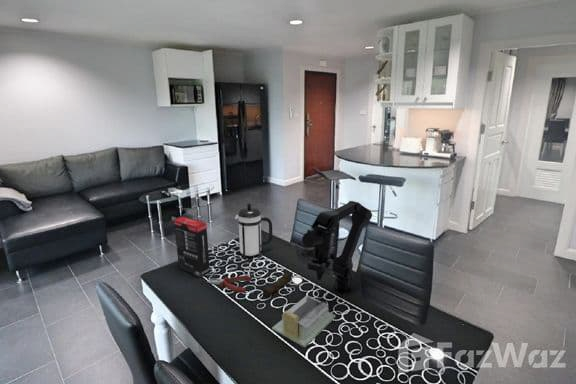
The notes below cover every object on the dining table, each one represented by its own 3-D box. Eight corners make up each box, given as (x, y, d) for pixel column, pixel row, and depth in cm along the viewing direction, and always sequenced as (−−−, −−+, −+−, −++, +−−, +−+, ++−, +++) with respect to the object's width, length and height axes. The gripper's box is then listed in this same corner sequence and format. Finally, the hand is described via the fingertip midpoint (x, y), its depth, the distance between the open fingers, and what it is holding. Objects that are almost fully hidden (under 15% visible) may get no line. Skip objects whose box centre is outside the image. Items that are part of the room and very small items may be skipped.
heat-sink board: (304, 302, 134) (305, 284, 132) (335, 317, 125) (336, 297, 123) (272, 329, 118) (271, 308, 116) (304, 347, 109) (305, 325, 107)
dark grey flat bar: (310, 299, 126) (310, 297, 126) (319, 303, 124) (319, 301, 124) (289, 317, 116) (289, 315, 116) (297, 321, 113) (297, 320, 113)
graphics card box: (211, 272, 159) (207, 221, 152) (200, 278, 153) (196, 226, 146) (188, 263, 168) (183, 215, 161) (177, 269, 162) (172, 219, 155)
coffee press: (254, 263, 168) (252, 209, 160) (231, 255, 176) (229, 204, 169) (273, 251, 182) (272, 201, 174) (251, 244, 190) (250, 197, 183)
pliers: (213, 276, 156) (213, 271, 155) (252, 280, 152) (252, 276, 151) (203, 289, 145) (202, 284, 144) (244, 294, 141) (244, 289, 141)
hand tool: (268, 298, 138) (268, 289, 136) (262, 295, 140) (262, 286, 139) (295, 281, 152) (295, 272, 150) (289, 278, 154) (289, 269, 153)
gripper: (312, 234, 139) (308, 267, 142) (296, 245, 122) (292, 283, 125) (336, 239, 135) (332, 273, 138) (324, 252, 118) (319, 290, 121)
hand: (319, 279), depth 130 cm, fingers closed
